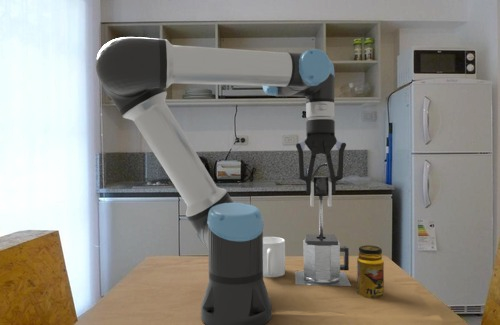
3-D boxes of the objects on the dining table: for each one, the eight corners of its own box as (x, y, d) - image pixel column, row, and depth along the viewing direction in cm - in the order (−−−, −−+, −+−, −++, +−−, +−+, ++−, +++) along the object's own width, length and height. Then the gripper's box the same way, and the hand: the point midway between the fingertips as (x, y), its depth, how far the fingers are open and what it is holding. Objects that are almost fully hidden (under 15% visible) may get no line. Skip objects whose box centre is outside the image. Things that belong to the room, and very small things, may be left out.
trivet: (295, 287, 95) (295, 284, 95) (295, 273, 106) (295, 271, 106) (351, 289, 94) (351, 285, 94) (344, 274, 105) (344, 272, 105)
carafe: (304, 283, 96) (303, 241, 95) (302, 271, 105) (302, 233, 105) (351, 284, 94) (350, 242, 94) (345, 272, 104) (345, 234, 104)
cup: (285, 270, 109) (284, 236, 109) (284, 285, 97) (284, 247, 97) (257, 270, 110) (256, 236, 109) (253, 284, 98) (253, 246, 98)
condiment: (382, 305, 84) (381, 252, 83) (345, 298, 88) (344, 248, 88) (388, 294, 90) (387, 245, 90) (353, 288, 94) (353, 241, 94)
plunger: (308, 249, 96) (307, 177, 96) (307, 243, 104) (306, 176, 103) (336, 250, 96) (336, 177, 95) (333, 243, 103) (332, 176, 102)
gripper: (288, 118, 96) (289, 208, 97) (355, 117, 94) (355, 208, 95) (288, 121, 104) (289, 204, 104) (350, 120, 102) (350, 204, 102)
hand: (320, 205), depth 99 cm, fingers closed on plunger, 4 cm apart
